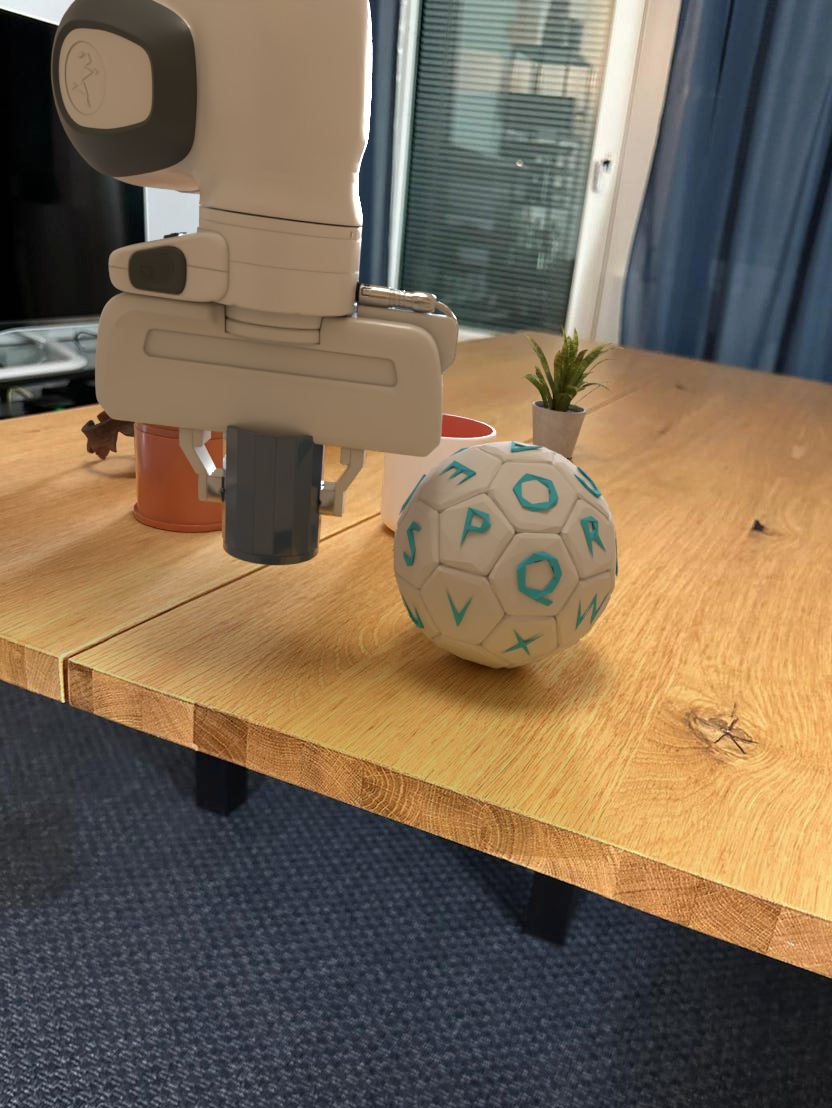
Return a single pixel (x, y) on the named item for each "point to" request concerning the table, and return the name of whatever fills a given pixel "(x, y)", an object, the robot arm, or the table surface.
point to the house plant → (562, 395)
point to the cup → (426, 463)
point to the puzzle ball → (505, 554)
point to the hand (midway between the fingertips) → (272, 506)
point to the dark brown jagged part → (105, 434)
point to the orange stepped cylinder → (172, 481)
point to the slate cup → (271, 497)
